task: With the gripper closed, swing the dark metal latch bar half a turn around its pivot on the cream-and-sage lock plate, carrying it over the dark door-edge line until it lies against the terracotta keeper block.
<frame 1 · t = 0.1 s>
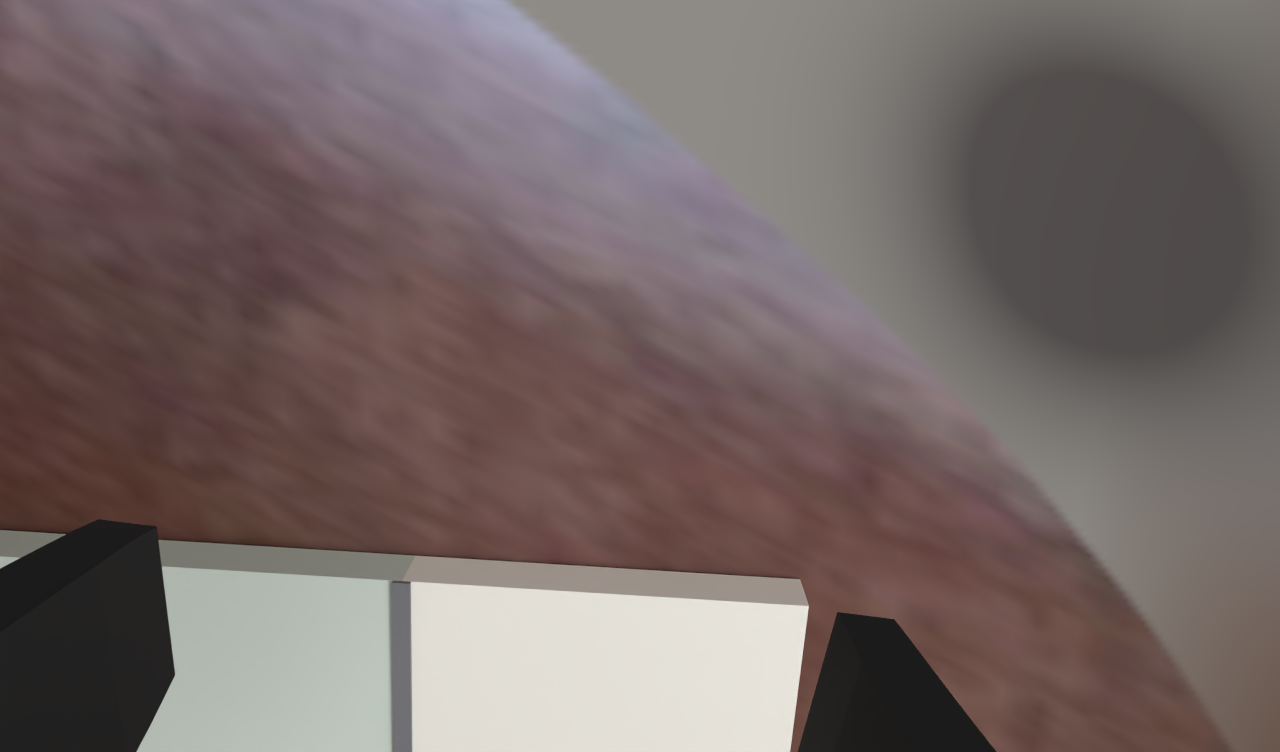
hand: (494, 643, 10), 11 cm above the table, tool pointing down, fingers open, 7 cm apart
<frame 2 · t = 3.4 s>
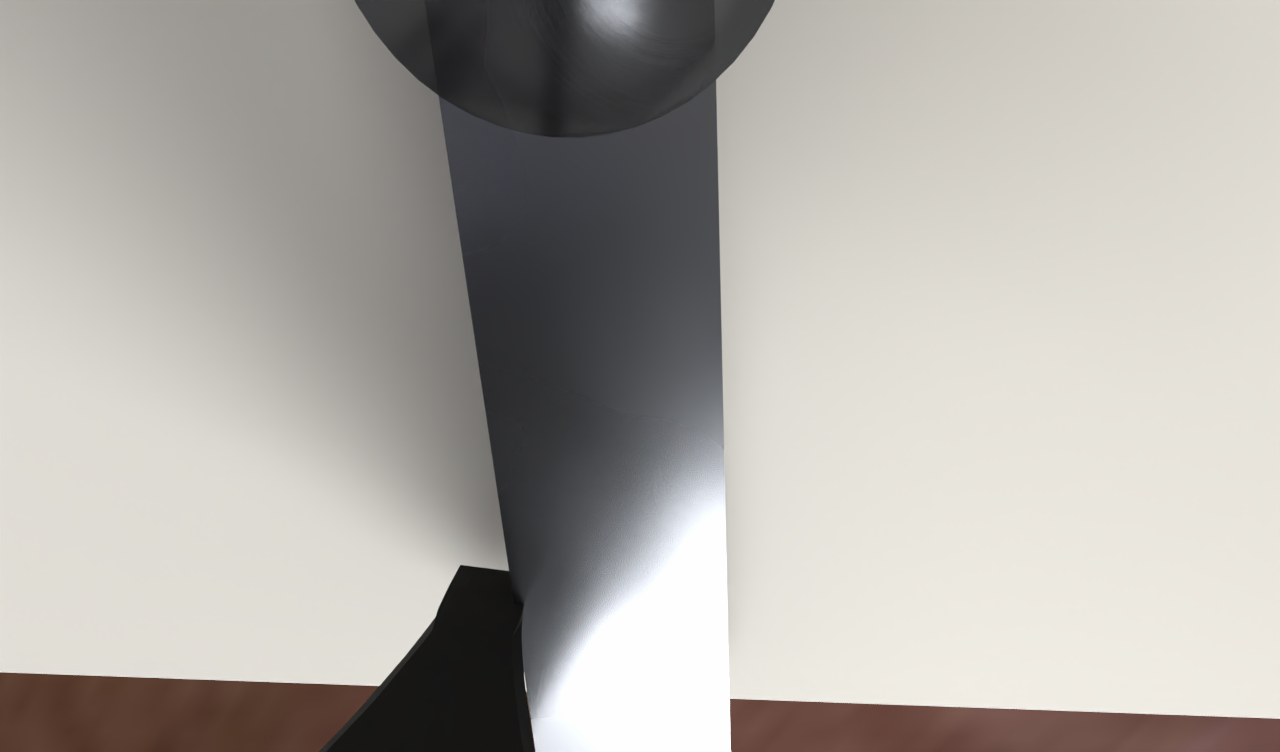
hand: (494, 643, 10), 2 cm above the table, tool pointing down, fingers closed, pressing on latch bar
latch bar: (607, 364, 8), point 3 cm above the table, hinge at 4.1°, touching gripper
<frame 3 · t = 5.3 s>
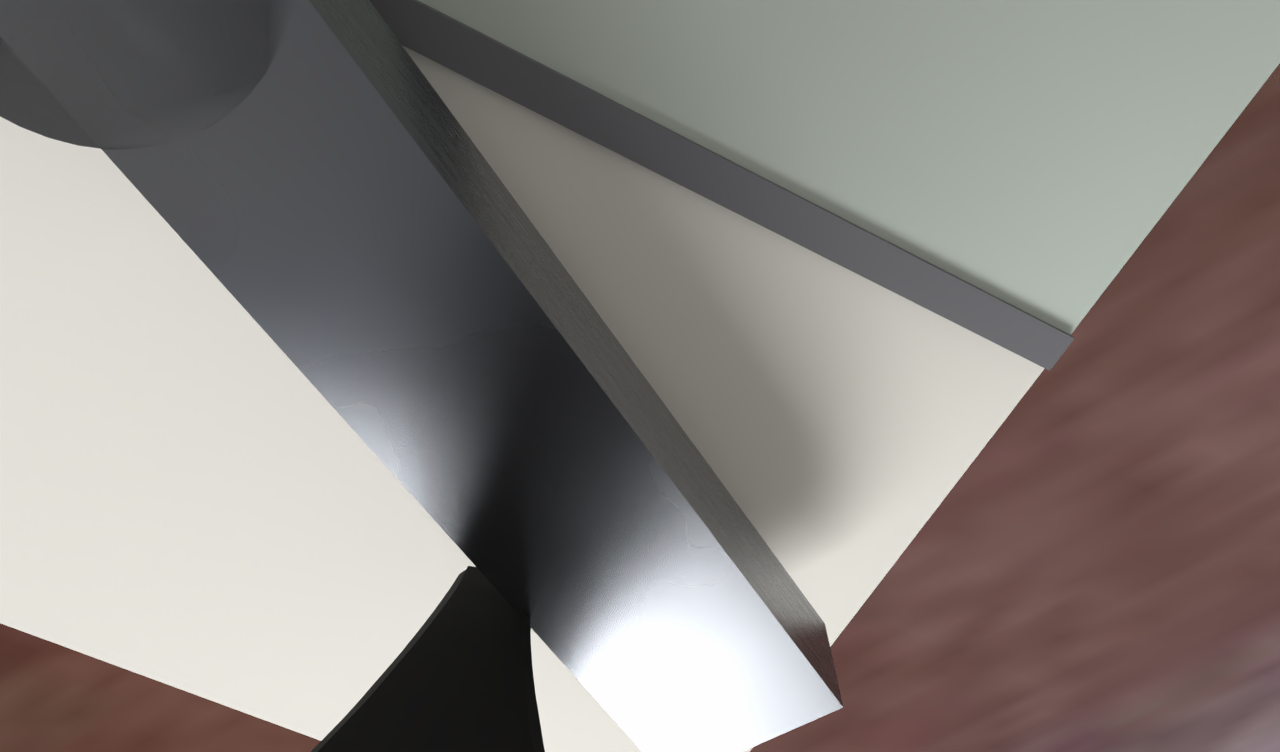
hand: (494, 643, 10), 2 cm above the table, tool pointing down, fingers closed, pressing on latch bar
latch bar: (433, 309, 8), point 3 cm above the table, hinge at 60.1°, touching gripper
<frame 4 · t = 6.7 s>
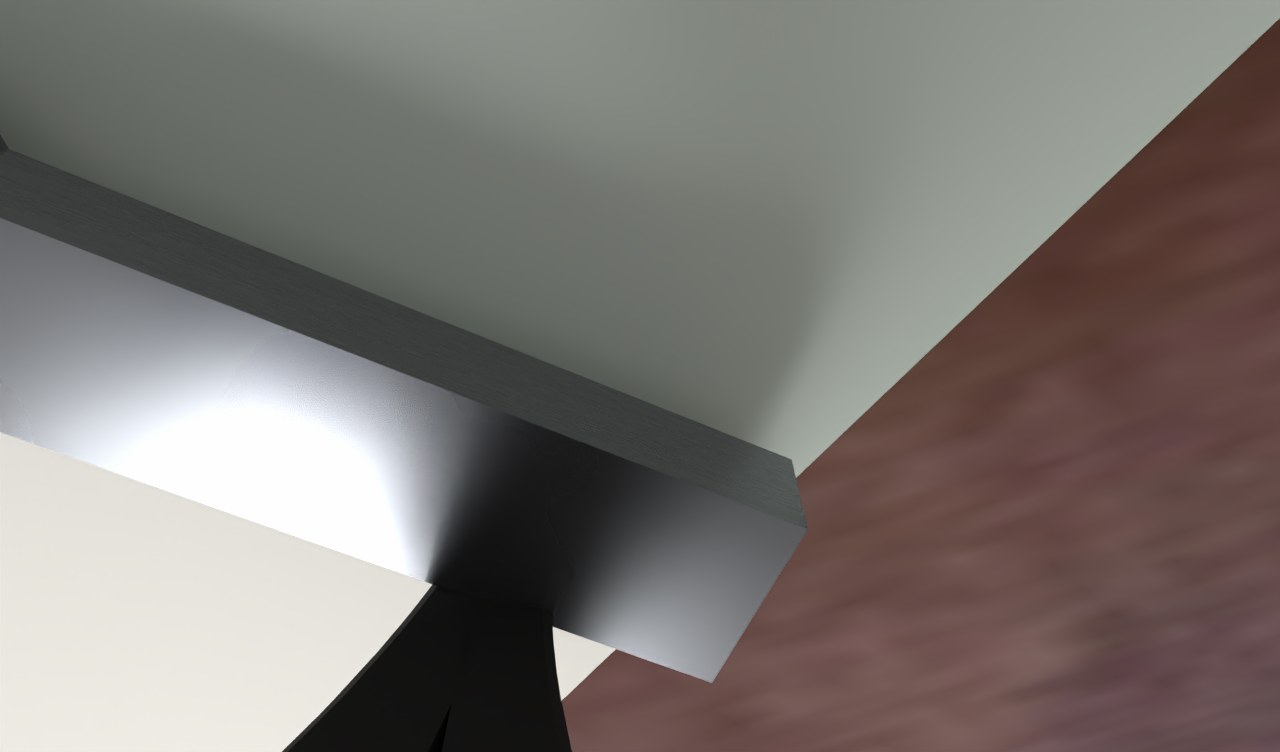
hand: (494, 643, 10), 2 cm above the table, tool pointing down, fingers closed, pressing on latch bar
lock plate: (4, 149, 10), on the table
latch bar: (228, 373, 8), point 3 cm above the table, hinge at 105.7°, touching gripper
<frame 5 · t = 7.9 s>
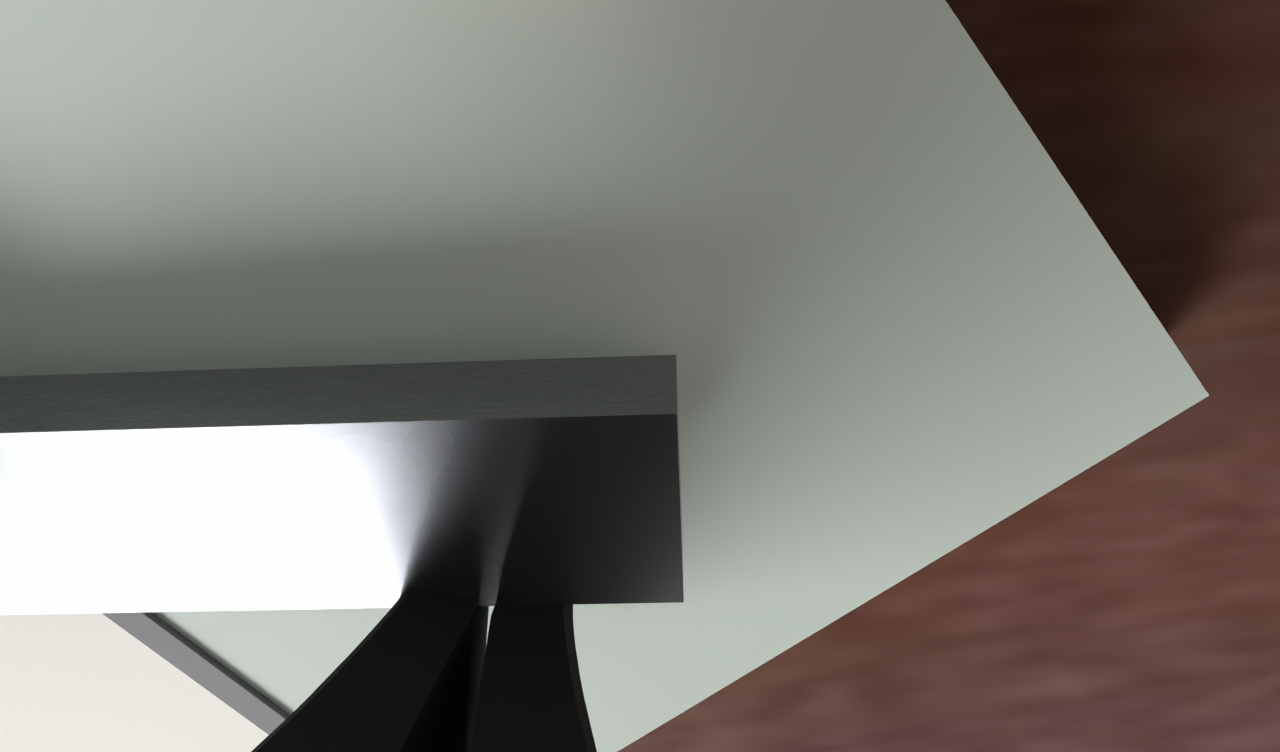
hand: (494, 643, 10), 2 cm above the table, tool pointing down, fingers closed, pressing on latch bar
latch bar: (136, 490, 9), point 3 cm above the table, hinge at 142.2°, touching gripper
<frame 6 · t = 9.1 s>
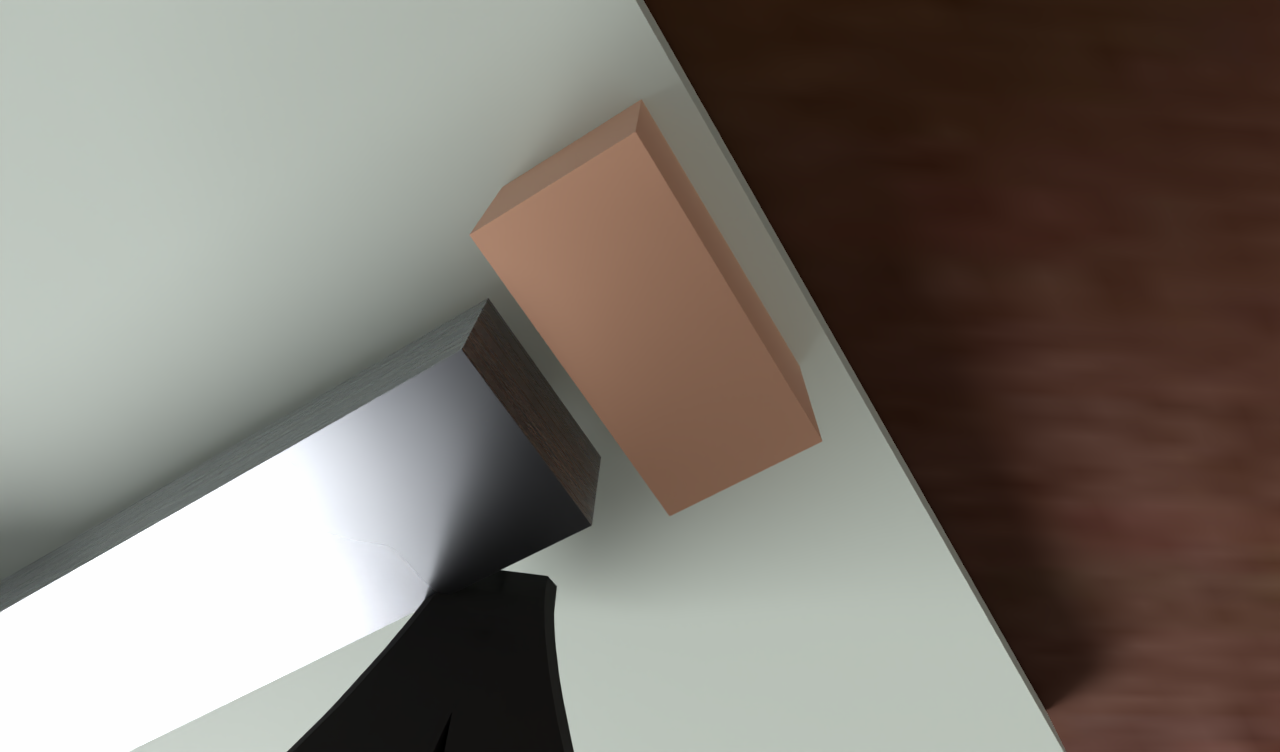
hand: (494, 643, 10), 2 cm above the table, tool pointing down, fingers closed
lock plate: (39, 604, 13), on the table
latch bar: (125, 630, 10), point 3 cm above the table, hinge at 179.4°, touching gripper
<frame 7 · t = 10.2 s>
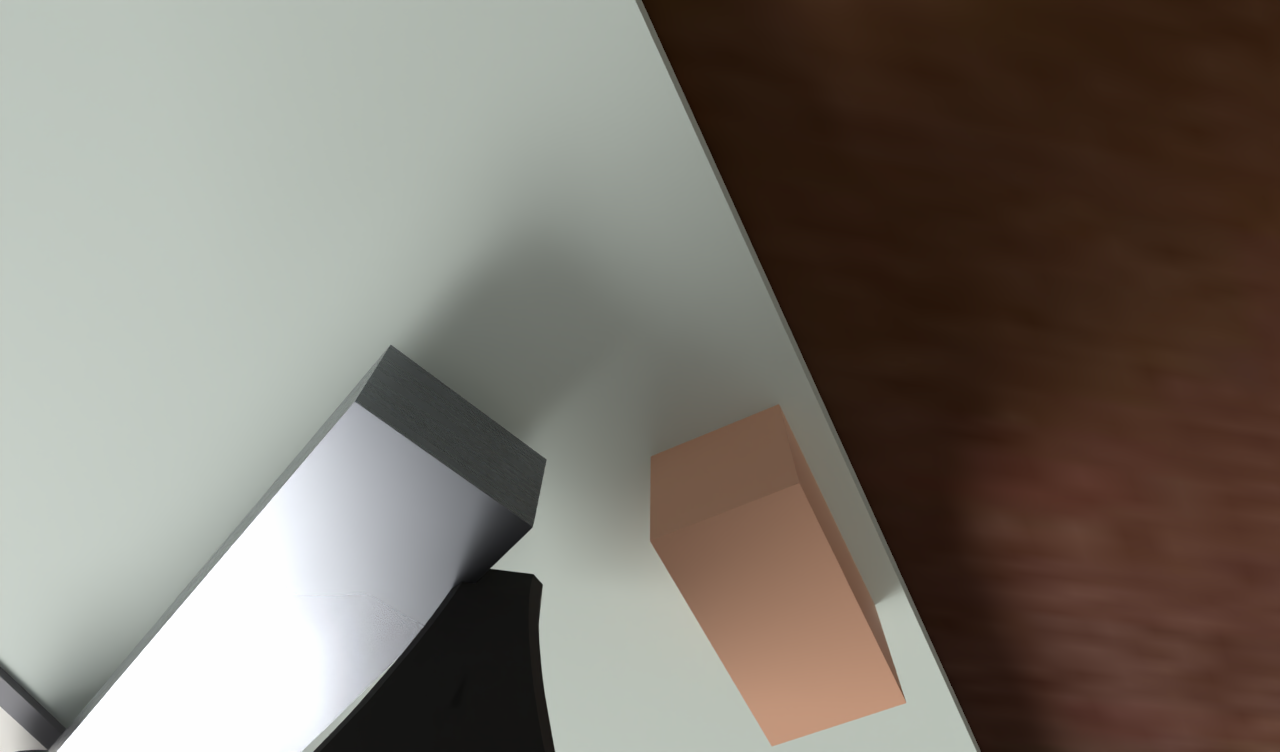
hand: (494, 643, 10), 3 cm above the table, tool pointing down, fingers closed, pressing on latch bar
lock plate: (150, 717, 14), on the table
latch bar: (189, 723, 11), point 3 cm above the table, hinge at 202.3°, touching gripper
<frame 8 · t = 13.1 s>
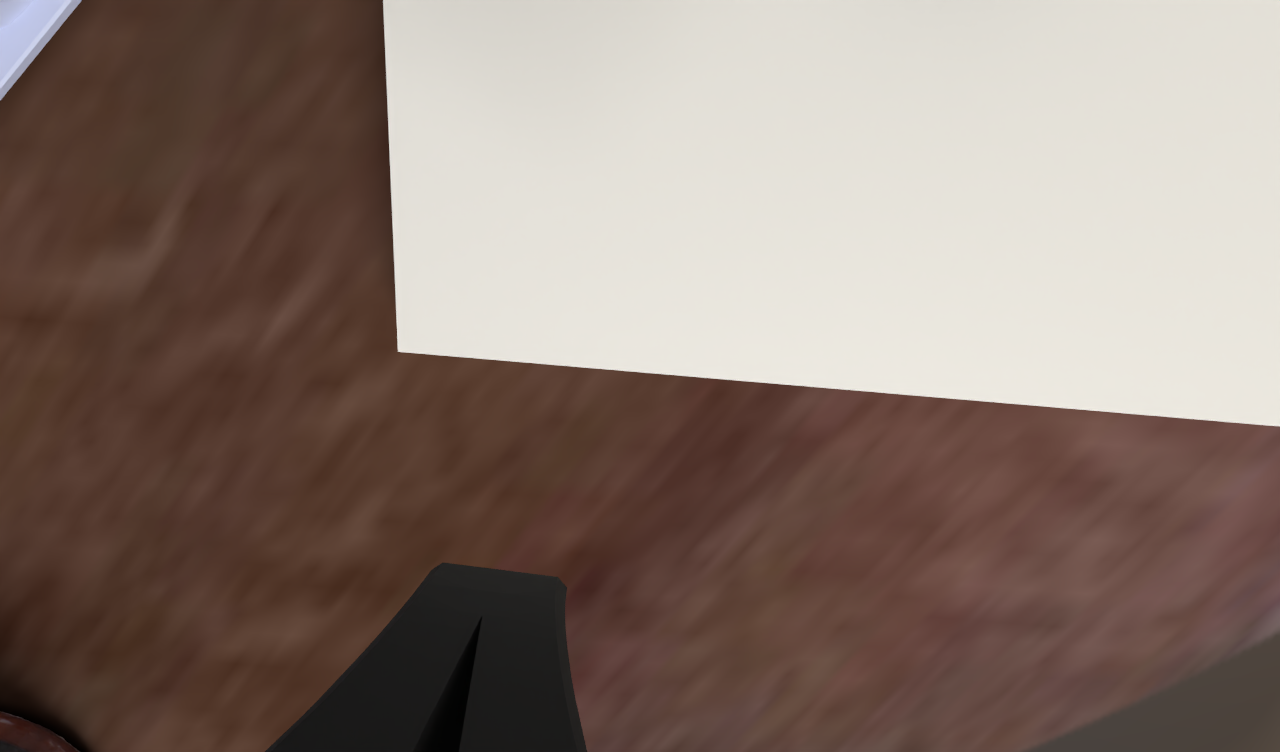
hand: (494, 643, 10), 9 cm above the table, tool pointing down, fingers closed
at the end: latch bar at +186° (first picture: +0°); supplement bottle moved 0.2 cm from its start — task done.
